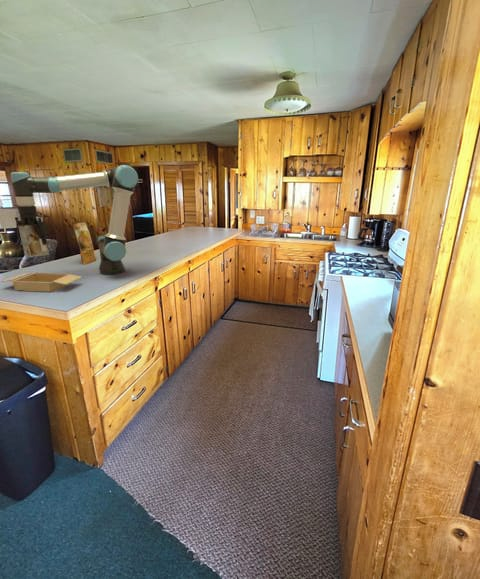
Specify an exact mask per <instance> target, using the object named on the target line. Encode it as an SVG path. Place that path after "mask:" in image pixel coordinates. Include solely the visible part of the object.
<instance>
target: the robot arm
mask: <svg viewBox="0 0 480 579" xmlns="http://www.w3.org/2000/svg"><path fill="white" fill-rule="evenodd" d="M10 179H11V185H12V189H13V193H14V198H15V201H16V202H15V203H16V205H17V211H18V214H19V216H15V217H14V220H15V222H16V223H15V224H16V225H15V226H16V236H17V237H18V238H21V236H20V232H19V228H18V225H25V224H30V225H33V226H35V230H36V231H37V233H38V234H39V236H40V239H39V240H40V245H41V249H42V251H47V248H46V244H47V245H48V242H46V241H47V238H48V237H50V235H49V233H48V230H47V226H46V224H45V223H46V222H45V219H44V217H42V216H41V217H39V216H38V215H37V214H38V211H37V206H36V200H35V196H34V194H59V193H60V192H63V191H70V190H72V191H73V190H81V189H88V188H98V187H107V188H112V189H113V191H114V193H113V200H112V206H111V212H110V218H109V225H108V232H107V233H106V234H105V235H100V236H98V237H97V243H98V248H99V249H98V250H99V255H100V256H99V257H100V263H99V269H98V272H99V274H101V275H117V274H121V273H124V272H125V271H126V270H125V265H124V263H123V261H122V259H123V258H125V257H126V254H127V247H126V243H127V239H126V237H125V231H126V226H127V219H128V212H129V206H130V200H131V196H132V195H133V194H134V193H135V187H136V186H137V184H138V181H139V176H138V173H137V170H135V168H133V167H132V166H130V165H127V164H121V165H119V166H116V167H113V168H109V169H103V170H102V171H98V172H97V171H96V172H90V173H78V174H69V175H59V176H49V177H48V176H44V177H43V176H42V177H41V176H38V177H37V176H35V177H34V176H31V175H30V174H29V172H20V171H18V172H17V171H14V172H13V171H12V172H11V173H10ZM37 224H39V226H40V227H38V226H37Z"/></svg>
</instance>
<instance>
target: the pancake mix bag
mask: <svg viewBox="0 0 480 579" xmlns="http://www.w3.org/2000/svg"><path fill="white" fill-rule="evenodd" d="M72 227H73V232H74V235H75V239H76V242H77V244H78V247H79V253H80V258H81V259H80V260H81V265H88V264H90V263H93V262H95V261H97V258H96V255H95V250H94V244H93V241H92V236H91V234H90V230H89V228H88V226H87V223H86V221H83V222H78V223H74V224H73V226H72Z"/></svg>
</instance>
